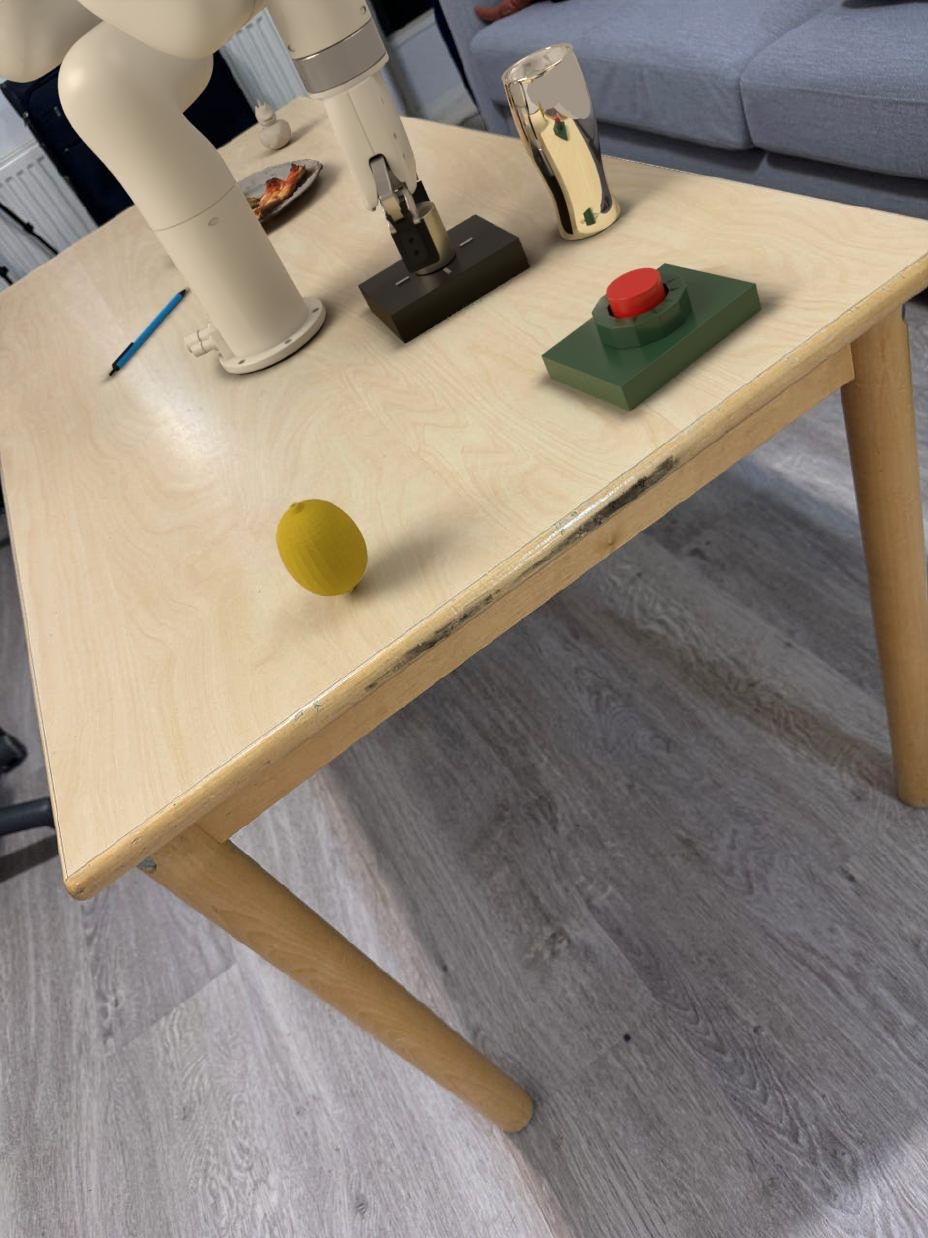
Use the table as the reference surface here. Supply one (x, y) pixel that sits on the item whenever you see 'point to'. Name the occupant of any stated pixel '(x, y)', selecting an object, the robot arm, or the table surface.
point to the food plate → (278, 186)
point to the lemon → (321, 547)
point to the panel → (445, 279)
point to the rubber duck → (272, 127)
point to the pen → (145, 334)
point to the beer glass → (562, 138)
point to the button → (635, 292)
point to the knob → (435, 236)
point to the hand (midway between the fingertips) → (424, 245)
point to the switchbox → (651, 337)
